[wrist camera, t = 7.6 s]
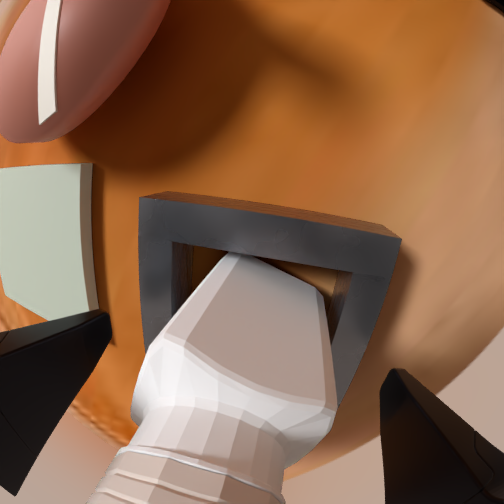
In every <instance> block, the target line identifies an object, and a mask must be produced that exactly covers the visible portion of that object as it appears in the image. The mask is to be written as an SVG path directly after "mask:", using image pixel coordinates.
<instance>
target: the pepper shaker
mask: <svg viewBox="0 0 504 504" xmlns="http://www.w3.org/2000/svg"><path fill="white" fill-rule="evenodd" d="M337 407H338V406H337V396H336V386H335V377H334V369H333V361H332V353H331V346H330V338H329V331H328V325H327V318H326V312H325V306H324V300H323V296H322V295H321V294H320V292H319V291H318V290H317V289H316V288H315V287H313V286H311V285H309V284H307V283H305V282H303V281H301V280H299V279H297V278H295V277H293V276H291V275H289V274H287V273H285V272H283V271H281V270H279V269H277V268H275V267H273V266H271V265H269V264H267V263H265V262H263V261H261V260H259V259H257V258H255V257H253V256H251V255H248V254H242V253H236V252H228V253H227V254H226V255H225V256H224V257H223V258H222V259H221V260H220V261H219V262H218V263H217V264H216V266H215V267H214V268H213V269H212V270H211V272H210V273H209V274H208V275H207V276H206V278H205V279H204V280H203V281H202V282H201V284H200V285H199V286H198V287H197V288H196V290H195V291H194V292H193V293H192V294H191V296H190V297H189V298H188V299H187V300H186V302H185V303H184V304H183V305H182V306H181V308H180V309H179V310H178V311H177V313H176V314H175V315H174V316H173V317H172V319H171V320H170V321H169V322H168V324H167V325H166V326H165V327H164V328H163V330H162V331H161V332H160V333H159V335H158V336H157V337H156V338H155V340H154V341H153V342H152V343H151V344H150V346H149V348H148V351H147V353H146V356H145V359H144V362H143V364H142V367H141V370H140V373H139V376H138V380H137V383H136V386H135V390H134V394H133V399H132V405H131V418H132V420H133V421H134V422H135V423H136V424H137V425H138V426H139V428H138V430H137V431H136V433H135V435H134V436H133V438H132V440H131V441H130V443H129V445H128V446H126V447H122V448H120V450H119V451H118V452H117V454H116V456H115V457H114V459H113V460H112V462H111V464H110V465H109V467H108V469H107V470H106V472H105V474H106V476H105V477H102V478H101V480H100V482H99V483H98V485H97V487H96V488H95V489H96V493H93V494H92V495H91V496H90V498H89V500H88V501H87V503H86V504H285V499H284V497H283V495H282V494H281V490H282V483H283V475H284V469H286V468H288V467H289V466H291V465H293V464H295V463H296V462H298V461H299V460H300V459H301V458H303V457H304V456H305V455H307V454H308V453H309V452H310V451H312V450H313V449H314V447H315V446H316V445H317V444H318V443H319V442H320V441H321V440H322V439H323V438H324V437H325V436H326V435H327V434H328V433H329V431H330V430H331V428H332V425H333V422H334V418H335V415H336V411H337Z"/></svg>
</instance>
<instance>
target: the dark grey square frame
mask: <svg viewBox="0 0 504 504" xmlns="http://www.w3.org/2000/svg"><path fill="white" fill-rule="evenodd" d="M401 240H402V239H401V238H400V237H399V236H397V235H396V234H394V233H393V232H392V231H390V230H389V229H387V228H386V227H384V226H383V225H380V224H375V223H370V222H365V221H361V220H356V219H351V218H345V217H340V216H335V215H330V214H324V213H319V212H313V211H307V210H301V209H295V208H289V207H283V206H277V205H270V204H264V203H257V202H250V201H243V200H236V199H229V198H221V197H213V196H205V195H196V194H188V193H178V192H169V191H167V192H162V193H157V194H152V195H148V196H143V197H139V234H138V247H139V284H140V301H141V314H142V326H143V336H144V345H145V353H147V351H148V348H149V346H150V344H151V343H152V342H153V341H154V340H155V338H156V337H157V336H158V335H159V333H160V332H161V331H162V330H163V328H164V327H165V326H166V325H167V324H168V322H169V321H170V320H171V319H172V317H173V316H174V315H175V314H176V313H177V311H178V310H179V309H180V308H181V306H182V305H183V304H184V303H185V302H186V300H187V299H188V298H189V297H190V296H191V291H192V267H193V249H194V245H196V246H201V247H207V248H213V249H219V250H225V251H230V252H236V253H242V254H248V255H254V256H260V257H265V258H271V259H277V260H283V261H289V262H295V263H301V264H307V265H312V266H318V267H324V268H330V269H336V270H339V272H338V276H337V280H336V284H335V288H334V291H333V295H332V299H331V303H330V306H329V310H328V313H327V317H326V318H327V325H328V331H329V338H330V346H331V353H332V361H333V369H334V377H335V386H336V396H337V406H338V407H339V405H340V403H341V401H342V399H343V397H344V395H345V393H346V391H347V389H348V387H349V385H350V383H351V381H352V379H353V377H354V375H355V373H356V370H357V368H358V366H359V364H360V361H361V359H362V357H363V354H364V352H365V350H366V347H367V345H368V342H369V340H370V337H371V335H372V332H373V330H374V327H375V324H376V322H377V319H378V316H379V314H380V311H381V308H382V305H383V302H384V299H385V296H386V293H387V290H388V287H389V284H390V280H391V277H392V274H393V270H394V267H395V263H396V260H397V256H398V252H399V248H400V244H401ZM338 407H337V409H338Z"/></svg>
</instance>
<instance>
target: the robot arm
mask: <svg viewBox="0 0 504 504" xmlns="http://www.w3.org/2000/svg"><path fill="white" fill-rule="evenodd" d="M489 1H490V2H491V3H493V4H494V5H496V6H497V7H499V8H500V9H501V10H503V11H504V0H489ZM111 338H112V328H111V322H110V316H109V314H108V313H107V312H106V311H103V310H100V309H95V310H91V311H87V312H83V313H79V314H75V315H71V316H67V317H63V318H59V319H55V320H51V321H47V322H43V323H39V324H34V325H30V326H26V327H22V328H18V329H13V330H10V331H4V332H0V486H2V487H3V488H4V489H5V490H7V491H8V492H9V493H11V494H12V495H14V496H16V495H17V493H18V491H19V490H20V488H21V486H22V484H23V482H24V480H25V478H26V476H27V475H28V473H29V471H30V469H31V467H32V466H33V464H34V462H35V460H36V459H37V457H38V455H39V453H40V452H41V450H42V448H43V447H44V445H45V443H46V441H47V440H48V438H49V437H50V435H51V434H52V432H53V430H54V429H55V427H56V426H57V424H58V423H59V421H60V419H61V418H62V416H63V415H64V413H65V412H66V410H67V409H68V407H69V406H70V404H71V403H72V401H73V400H74V398H75V397H76V395H77V394H78V392H79V391H80V389H81V388H82V386H83V385H84V384H85V382H86V381H87V379H88V378H89V376H90V375H91V373H92V372H93V370H94V368H95V367H96V365H97V363H98V361H99V360H100V358H101V356H102V354H103V352H104V351H105V349H106V347H107V345H108V344H109V342H110V340H111ZM380 435H381V445H382V456H383V467H384V482H385V484H384V485H385V504H504V453H503V452H501V451H500V450H499V449H497V448H496V447H494V446H493V445H492V444H491V443H490V442H488V441H487V440H486V439H485V438H484V437H482V436H481V435H480V434H479V433H478V432H477V431H474V429H473V428H472V427H471V426H470V425H469V424H468V423H466V422H465V421H464V420H463V419H462V418H461V417H460V416H458V415H457V414H456V413H455V412H454V411H453V410H451V409H450V408H449V407H448V406H447V405H445V404H444V403H443V402H442V401H441V400H440V399H439V398H438V397H436V396H435V395H434V394H433V393H432V392H431V391H429V390H428V389H427V388H426V387H425V386H423V385H422V384H421V383H420V382H419V381H418V380H416V379H415V378H414V377H413V376H412V375H411V374H409V373H408V372H407V371H406V370H405V369H400V368H393V369H391V370H390V372H389V373H388V375H387V377H386V379H385V381H384V383H383V384H382V386H381V389H380Z"/></svg>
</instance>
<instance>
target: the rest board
mask: <svg viewBox="0 0 504 504" xmlns="http://www.w3.org/2000/svg"><path fill="white" fill-rule="evenodd" d="M92 166H93V163H73V164H49V165H33V166H20V167H9V168H0V274H1V279H2V283H3V288H4V292H5V295H6V296H8V297H9V298H11V299H12V300H14V301H15V302H17V303H19V304H20V305H22V306H24V307H25V308H27V309H29V310H30V311H32V312H34V313H36V314H37V315H39V316H41V317H43V318H45V319H47V320H48V321H51V320H55V319H59V318H63V317H67V316H71V315H75V314H79V313H83V312H87V311H91V310H95V309H99V306H98V299H97V291H96V283H95V274H94V263H93V249H92V228H91V186H92Z"/></svg>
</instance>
